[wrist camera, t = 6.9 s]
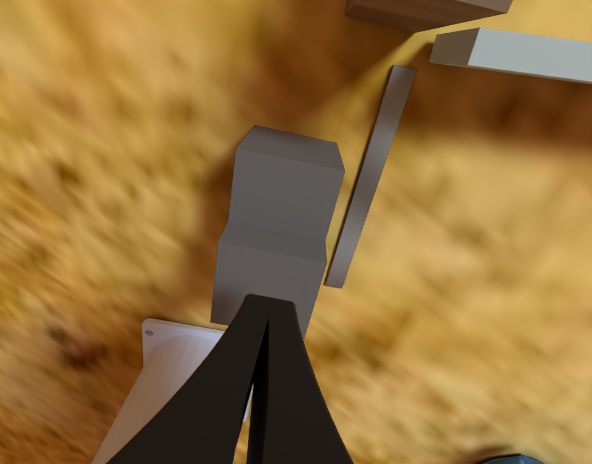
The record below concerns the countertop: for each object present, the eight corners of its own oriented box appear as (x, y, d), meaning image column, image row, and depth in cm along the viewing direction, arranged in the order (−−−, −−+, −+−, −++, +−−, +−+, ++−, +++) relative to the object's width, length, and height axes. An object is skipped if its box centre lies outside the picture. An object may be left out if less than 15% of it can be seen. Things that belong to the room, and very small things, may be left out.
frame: (341, 286, 20) (355, 391, 13) (285, 276, 19) (273, 378, 13) (526, -253, 10) (905, -796, 3) (413, -287, 9) (606, -927, 3)
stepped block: (306, 260, 19) (304, 338, 14) (238, 247, 19) (210, 322, 13) (336, 142, 16) (349, 186, 10) (255, 124, 15) (226, 161, 10)
